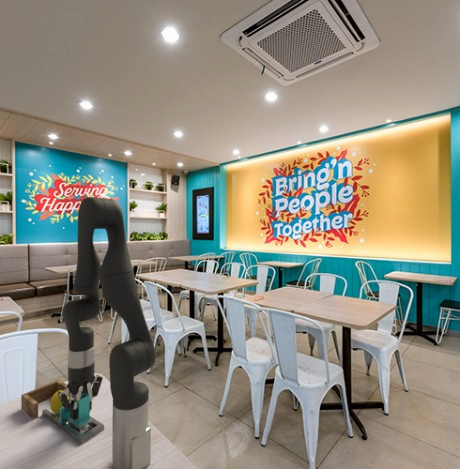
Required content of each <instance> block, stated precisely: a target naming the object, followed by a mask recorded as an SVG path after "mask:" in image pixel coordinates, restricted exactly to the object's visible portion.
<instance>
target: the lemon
mask: <svg viewBox="0 0 460 469" xmlns="http://www.w3.org/2000/svg"><path fill="white" fill-rule="evenodd" d="M59 392H63V391H62V390H59V391H58V392H56V393H55V394H54V395H53V396H52V397H51V398H50V401H49V404H50V405H49V406H50V410H51V412H52V413H53V414H58V415H60V408H61V407H63V405H62V403H61V401H60V399H59V397H58V393H59ZM67 398H68V400H69V396H68V397H67Z"/></svg>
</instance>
